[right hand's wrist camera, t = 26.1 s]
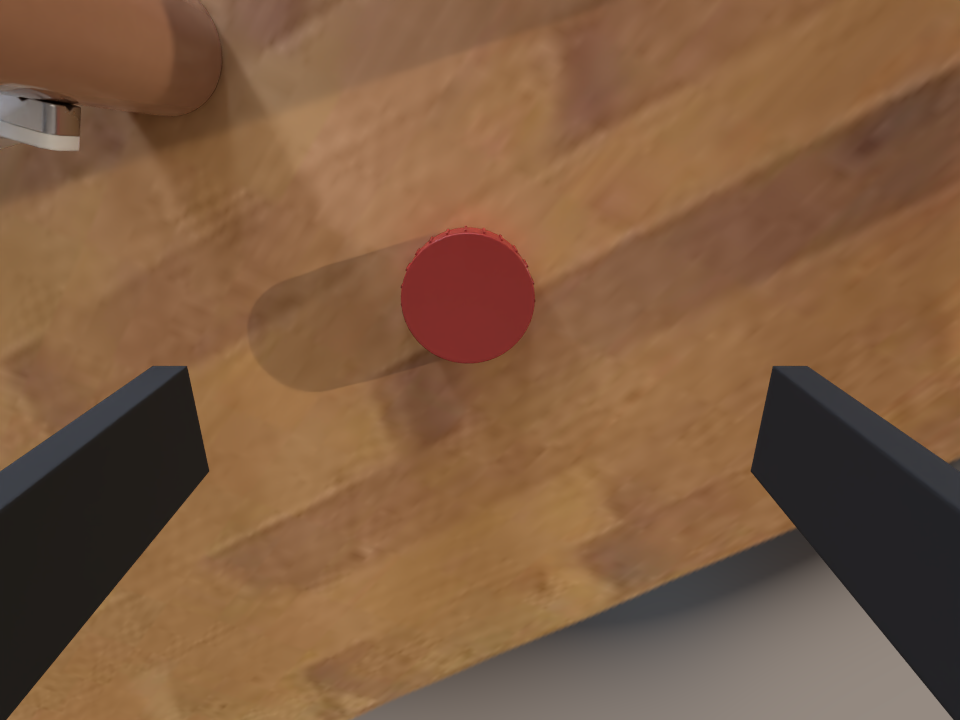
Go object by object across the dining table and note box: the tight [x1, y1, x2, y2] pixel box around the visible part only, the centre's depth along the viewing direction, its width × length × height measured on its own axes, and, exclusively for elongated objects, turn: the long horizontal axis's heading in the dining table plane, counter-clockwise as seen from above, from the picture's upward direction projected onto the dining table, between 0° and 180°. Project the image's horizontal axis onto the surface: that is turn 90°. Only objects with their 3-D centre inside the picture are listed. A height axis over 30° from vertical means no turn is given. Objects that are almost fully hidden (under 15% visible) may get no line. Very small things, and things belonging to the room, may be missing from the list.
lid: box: [401, 226, 535, 363], centre depth 27 cm, size 6×6×2 cm
